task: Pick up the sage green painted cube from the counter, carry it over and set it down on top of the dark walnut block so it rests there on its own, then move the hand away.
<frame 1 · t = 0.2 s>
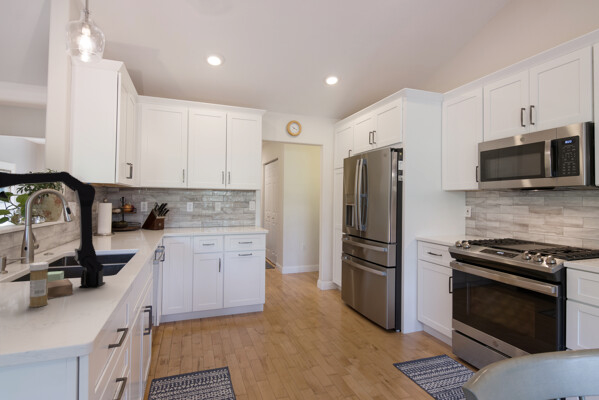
sage green cube: (54, 285, 121), on the countertop
walnut block: (52, 295, 110), on the countertop
sprinkles bottle: (38, 305, 98), on the countertop
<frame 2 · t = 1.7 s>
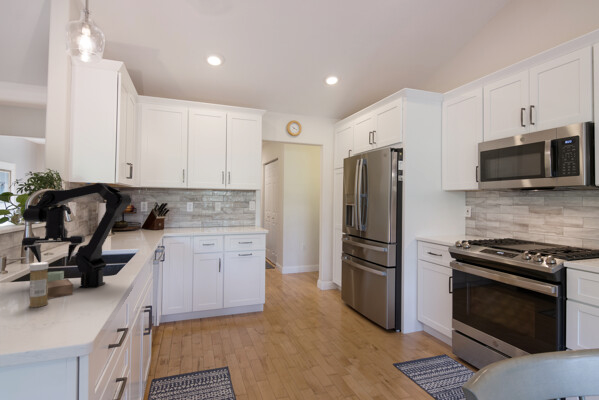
hand: (54, 262, 121), 9 cm above the countertop, tool pointing down, fingers open, 9 cm apart
nothing on the countertop moved.
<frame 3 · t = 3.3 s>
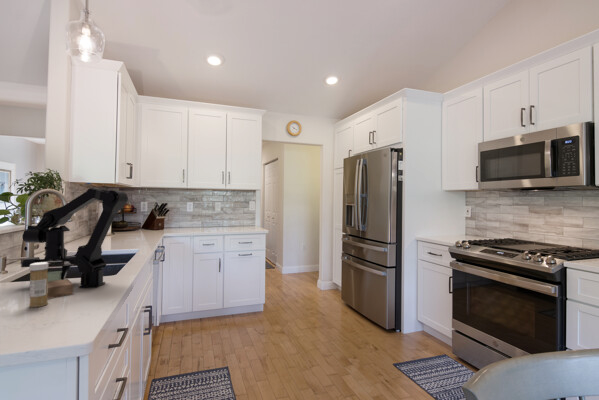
hand: (54, 282, 121), 1 cm above the countertop, tool pointing down, fingers closed on sage green cube, 5 cm apart
sage green cube: (54, 285, 121), on the countertop, touching gripper
everything else where it was.
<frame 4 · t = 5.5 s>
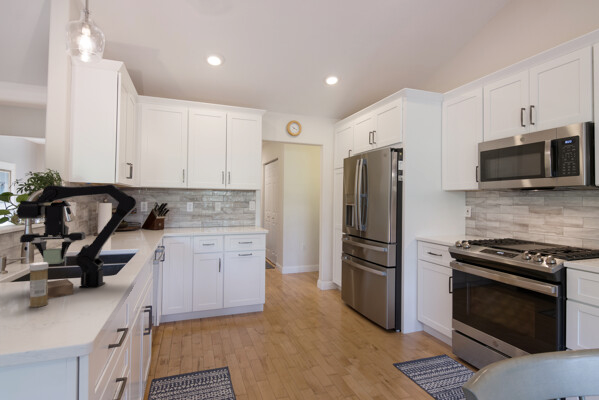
hand: (54, 259, 116), 11 cm above the countertop, tool pointing down, fingers closed on sage green cube, 5 cm apart
sage green cube: (54, 262, 116), point 10 cm above the countertop, touching gripper
everything else where it was.
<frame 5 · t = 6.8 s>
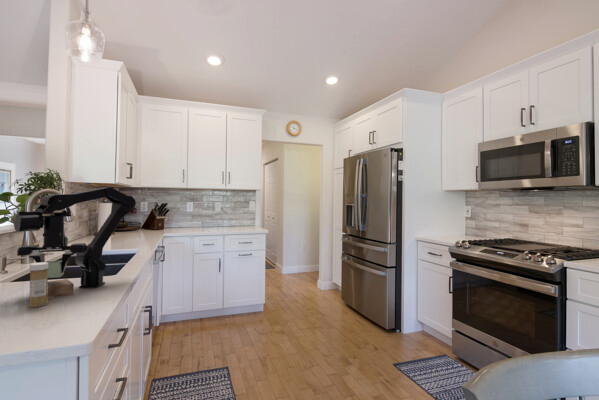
hand: (53, 273, 110), 7 cm above the countertop, tool pointing down, fingers closed on sage green cube, 5 cm apart
sage green cube: (53, 276, 110), point 6 cm above the countertop, touching gripper
everything else where it was.
when the fingers open (6 cm above the countertop, at t = 7.8 s): sage green cube drops 2 cm, resting on walnut block.
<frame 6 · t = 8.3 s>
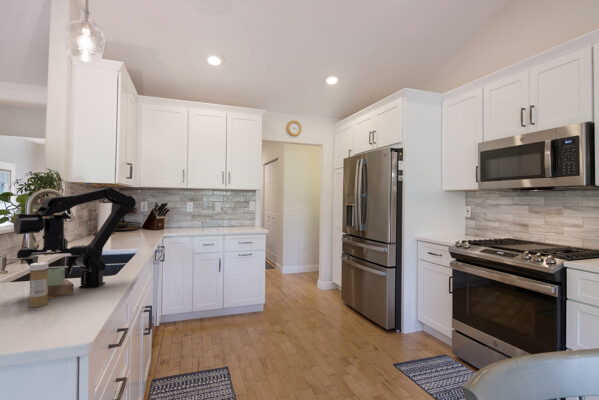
hand: (53, 275, 110), 6 cm above the countertop, tool pointing down, fingers open, 9 cm apart
sage green cube: (53, 283, 110), point 4 cm above the countertop, touching walnut block
walnut block: (52, 295, 110), on the countertop, touching sage green cube
everything else where it was.
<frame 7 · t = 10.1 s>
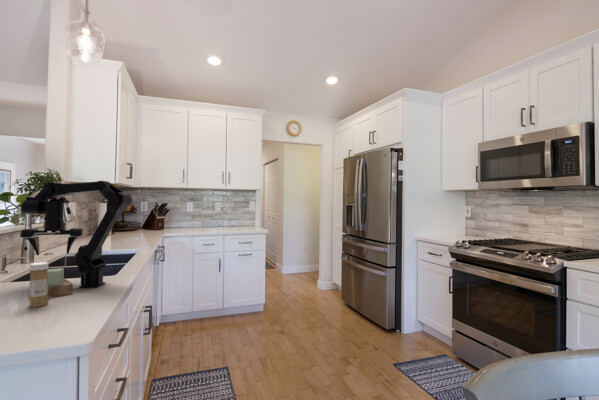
hand: (53, 254, 120), 12 cm above the countertop, tool pointing down, fingers open, 9 cm apart
sage green cube: (52, 284, 109), point 4 cm above the countertop
walnut block: (51, 295, 110), on the countertop
everything else where it was.
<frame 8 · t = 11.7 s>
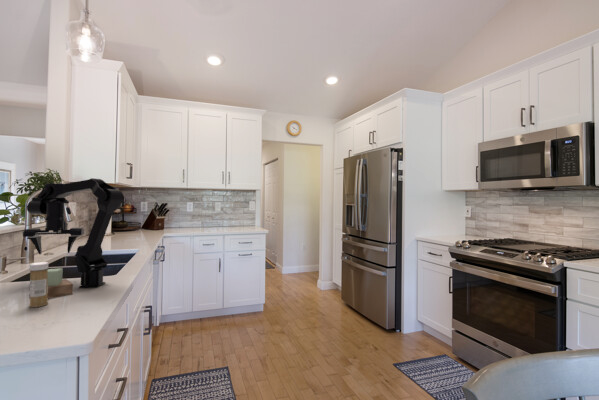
hand: (54, 253, 123), 12 cm above the countertop, tool pointing down, fingers open, 9 cm apart
nothing on the countertop moved.
at the end: sage green cube 0.4 cm off-centre on the walnut block, point 4.0 cm above the walnut block's base; sage green cube tilted 0°; the gripper is holding nothing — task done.
